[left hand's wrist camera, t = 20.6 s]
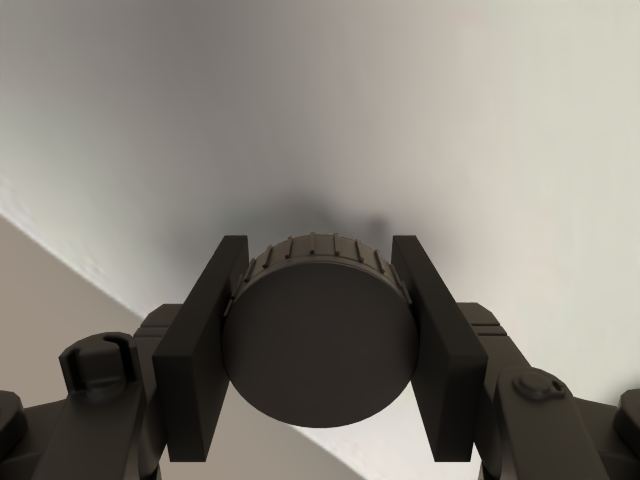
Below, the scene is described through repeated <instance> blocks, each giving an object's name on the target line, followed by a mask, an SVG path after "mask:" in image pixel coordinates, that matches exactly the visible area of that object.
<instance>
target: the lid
mask: <svg viewBox="0 0 640 480" xmlns="http://www.w3.org/2000/svg"><path fill="white" fill-rule="evenodd" d="M413 306H414V305H413V303H412V300H411V298H410V296H409V293H408V291H407V288H406V286H405V283H404V281H401V282H400V280H399V277H398V274H397V272H396V269H395V267H394V265H393V264H391V265H389V264H388V263H387V262H386V261H385V260H384V259H383V258H382V257H381V255H380V253H379V251H378V250H375V251H373V250H372V249H370V248H368V247H367V246H365V245H363V244H361V242H360V240H358V239H356V241H354V240H351V239H347V238H343V237H340V236H338V234H336V233H334V236H333V235H315V232H313V233H311V235H308V236H301V237H297V238H292V236H291V237H288V240H287V241H284V242H282V243H279V244H277V245H275V246H274V247H272V246H271V245H270V246H268V248H267V251H266V252H264V253H263V254H261V255H260V256H259V257H258V258H257V259H256V260H255V259H254V258H253V259H252V260H251V262H250V265H249V267H248V269H247V270H246V272H245V273H244V275H241V274H240V276H239V278H238V280H237V283H236V285H235V288H234V290H233V293H232V295H231V298H230V300H229V303H228V305H227V308H226V310H225V313H224V315H223V319H225V320H224V323H223V327H222V332H221V352H222V360H223V365H224V368H225V370H226V373H227V375H228V377H229V379H230V381H231V382H232V384H233V386H234V387H235V389H236V390H237V391H238V392H239V394H240V395H241V396H242V397H243V398H244V399H245V400H246V401H247V402H248V403H250V404H251V405H252V406H253V407H255V408H256V409H257V410H259V411H261V412H262V413H264V414H266V415H267V416H269V417H272V418H274V419H276V420H278V421H281V422H284V423H288V424H291V425H296V426H300V427H309V428H332V427H340V426H345V425H349V424H353V423H356V422H359V421H362V420H364V419H366V418H369V417H371V416H373V415H375V414H376V413H378V412H380V411H381V410H383V409H384V408H386V407H387V406H388V405H390V404H391V403H392V402H393V401H394V400H395V399H396V398H397V397H398V396H399V395H400V394H401V393H402V391H403V390H404V389H405V388H406V386H407V385H408V383H409V381H410V380H411V378H412V376H413V373H414V371H415V369H416V365H417V362H418V355H419V345H420V336H419V331H418V326H417V323H416V320H415V317H414V314H413V312H412V309H411V307H413Z"/></svg>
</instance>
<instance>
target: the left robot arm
mask: <svg viewBox="0 0 640 480" xmlns="http://www.w3.org/2000/svg"><path fill="white" fill-rule="evenodd" d="M391 264H393V265H394V267H395V269H396V272H397V274H398V277H399V280H400V282H401V281H404V283H405V286H406V288H407V291H408V293H409V296H410V298H411V300H412V303H413V305H414V306H413V307H411V309H412V312H413V314H414V317H415V320H416V323H417V326H418V331H419V336H420V345H419V355H418V362H417V365H416V369H415V371H414V373H413V376H412V378H411V380H410V381H411V384H412V387H413V391H414V394H415V397H416V401H417V404H418V407H419V411H420V414H421V417H422V421H423V424H424V427H425V431H426V434H427V437H428V441H429V444H430V447H431V451H432V454H433V457H434V461H435V462H470V460H471V454H472V449H473V443H475V445H476V448H477V450H478V453H479V455H480V457H481V460H482V461H481V466H480V471H479V477H478V480H640V389H633V390H627V391H626V392H625V393H624V394H623V395H621V398H620V401H619V404H618V407H615V406H611V405H606V404H601V403H597V402H592V401H588V400H583V399H580V398H576V397H573V395H572V393H571V391H570V390H569V389H568V387H567V386H566V385H565V384H564V383H563V382H562V381H561V380H559V379H558V378H557V377H555V376H554V375H552V374H550V373H547V372H545V371H543V370H541V369H537V368H533V367H531V365H530V364H529V363H528V361H527V360H526V359H525V357H524V356H523V355H522V353H521V352H520V350H519V349H518V348H517V346H516V345H515V344H514V342H513V341H512V340H511V338H510V337H509V336H507V333H506V331H505V330H504V329H503V327H502V326H500V323H499V322H498V321H497V319H496V318H495V316H494V315H493V314H492V312H490V311H489V310H487V309H486V308H484V307H483V306H481V305H480V304H478V303H456V302H455V300H454V298H453V297H452V295H451V293H450V292H449V290H448V288H447V287H446V285H445V283H444V282H443V280H442V279H441V277H440V275H439V274H438V272H437V270H436V269H435V267H434V265H433V264H432V262H431V260H430V259H429V257H428V256H427V254H426V252H425V251H424V249H423V247H422V246H421V244H420V242H419V241H418V239H417V237H416V236H393V242H392V257H391ZM248 267H249V253H248V239H247V236H224V238H223V240H222V241H221V243H220V244H219V246H218V248H217V249H216V251H215V253H214V254H213V256H212V258H211V259H210V261H209V263H208V264H207V266H206V267H205V269H204V271H203V272H202V274H201V276H200V277H199V279H198V281H197V282H196V284H195V286H194V287H193V289H192V290H191V292H190V294H189V295H188V297H187V299H186V300H185V302H184V304H163V305H161V306H160V307H158V308H157V309H155V310H154V311H152V312H151V313H149V314H148V316H147V317H146V319H145V320H144V321H143V323H142V324H141V327H140V328H138V330H137V331H136V332H135V334H134V335H133V337H132V336H131V335H129V334H126V333H122V332H105V333H100V334H96V335H92V336H89V337H87V338H84V339H82V340H79V341H77V342H75V343H74V344H72V345H71V346H69V347H68V348H66V349H65V350H64V352H63V353H62V354H61V355H60V356H59V361H60V365H61V368H62V372H63V376H64V379H65V383H66V387H67V390H68V396H67V398H66V399H64V400H60V401H57V402H52V403H47V404H43V405H38V406H33V407H29V408H24V409H23V406H22V403H21V400H20V397H19V396H17V395H16V394H15V393H14V392H9V391H3V390H1V391H0V480H161V472H160V466H159V460H160V458H161V455H162V453H163V451H164V448H165V446H166V444H167V447H168V453H169V458H170V462H205V461H206V458H207V455H208V451H209V448H210V445H211V442H212V438H213V435H214V432H215V428H216V425H217V422H218V418H219V415H220V411H221V408H222V405H223V401H224V398H225V395H226V391H227V388H228V385H229V381H230V379H229V377H228V375H227V373H226V370H225V368H224V365H223V360H222V352H221V332H222V327H223V323H224V320H225V319H223V315H224V313H225V310H226V308H227V305H228V303H229V300H230V298H231V295H232V293H233V290H234V288H235V285H236V283H237V280H238V278H239V276H240V274H241V275H244V273H245V272H246V270H247V269H248Z"/></svg>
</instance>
